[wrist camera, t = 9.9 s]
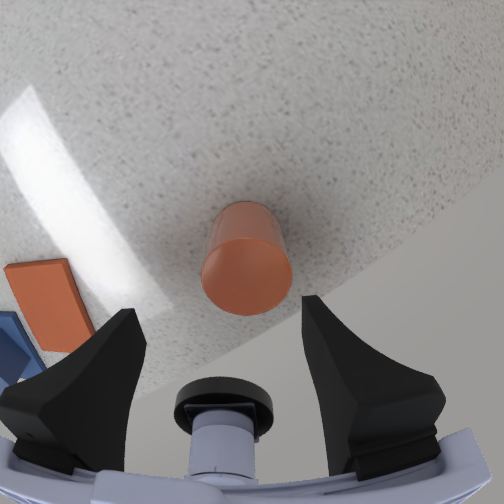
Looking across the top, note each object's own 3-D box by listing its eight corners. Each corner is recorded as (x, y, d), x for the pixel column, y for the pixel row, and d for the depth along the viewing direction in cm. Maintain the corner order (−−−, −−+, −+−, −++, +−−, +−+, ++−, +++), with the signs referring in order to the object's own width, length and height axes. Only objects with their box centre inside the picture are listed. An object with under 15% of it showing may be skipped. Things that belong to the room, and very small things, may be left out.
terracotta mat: (103, 348, 24) (100, 354, 24) (45, 345, 24) (42, 350, 24) (66, 258, 20) (61, 263, 20) (7, 264, 20) (2, 268, 20)
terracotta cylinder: (281, 261, 21) (293, 312, 16) (215, 267, 21) (208, 318, 16) (278, 198, 19) (291, 233, 14) (206, 204, 19) (193, 241, 14)
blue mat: (52, 378, 27) (50, 383, 26) (12, 371, 27) (10, 375, 26) (15, 312, 23) (11, 316, 22) (-23, 310, 23) (-27, 314, 22)
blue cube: (31, 358, 24) (13, 388, 20) (18, 369, 25) (1, 397, 21) (1, 327, 23) (-21, 356, 19) (-10, 341, 24) (-29, 368, 20)
